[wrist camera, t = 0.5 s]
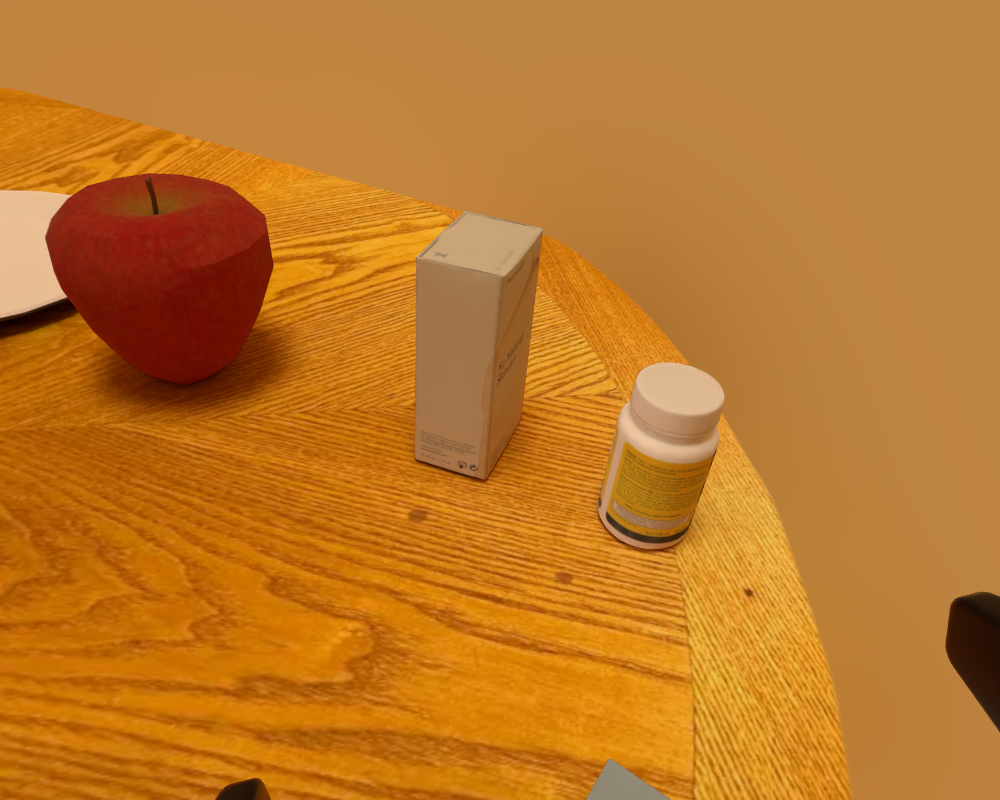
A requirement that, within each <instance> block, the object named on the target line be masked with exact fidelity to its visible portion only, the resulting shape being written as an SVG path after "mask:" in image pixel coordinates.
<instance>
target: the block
mask: <svg viewBox="0 0 1000 800" xmlns="http://www.w3.org/2000/svg"><path fill="white" fill-rule="evenodd" d="M586 800H671V799H669V798H668V797H666V796H665V795H663V794H662V793H660V792H659V791H658V790H656V789H655V788H653V787H652V786H650V785H649V784H647V783H646V782H644V781H643V780H641V779H640V778H638V777H637V776H635V775H634V774H632V773H631V772H630V771H628V770H627V769H625V768H624V767H622V766H621V765H619V764H618V763H616V762H615V761H613V760H612V759H609V760H608V761H607V763H606V765H605V767H604V768H603V770H602V772H601V774H600V775H599V777H598V779H597V781H596V782H595V784H594V786H593V788H592V790H591V791H590V793H589V795H588V797H587V798H586Z"/></svg>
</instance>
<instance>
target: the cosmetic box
mask: <svg viewBox="0 0 1000 800" xmlns="http://www.w3.org/2000/svg"><path fill="white" fill-rule="evenodd" d="M542 233H543V229H542V228H539V227H535V226H531V225H525V224H521V223H516V222H513V221H508V220H503V219H498V218H495V217H489V216H484V215H481V214H475V213H472V212H464V213H463V214H462V215H461V216H460V217H459V218H457V219H456V220H455V221H454V222H453V223H452V224H451V225H450V226H449V227H448V228H446V229H445V230H444V231H443V232H442V233H441V234H440V235H439V236H438V237H437V238H436V239H435V240H434V241H433V242H431V244H429V245H428V246H427V247H426V248H425V249H424V250H423V251H422V252H421V253H420V254H419V255H418V256H417V257H416V372H415V458H416V459H417V460H420V461H424V462H427V463H430V464H433V465H436V466H440V467H443V468H446V469H449V470H453V471H456V472H459V473H463V474H466V475H469V476H473V477H477V478H480V479H486V478H487V477H488V475H489V474H490V472H491V470H492V469H493V467H494V465H495V464H496V462H497V460H498V459H499V457H500V455H501V453H502V452H503V450H504V448H505V446H506V445H507V443H508V441H509V439H510V438H511V436H512V434H513V432H514V430H515V429H516V427H517V425H518V423H519V421H520V419H521V414H522V406H523V398H524V390H525V381H526V373H527V364H528V356H529V347H530V339H531V329H532V320H533V312H534V303H535V294H536V285H537V276H538V267H539V258H540V250H541V241H542Z"/></svg>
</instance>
